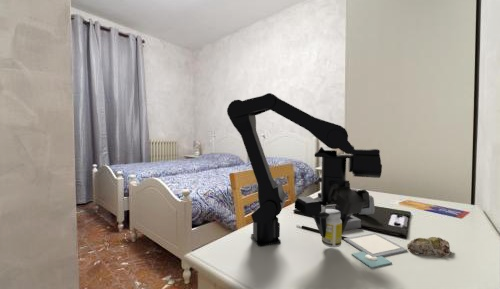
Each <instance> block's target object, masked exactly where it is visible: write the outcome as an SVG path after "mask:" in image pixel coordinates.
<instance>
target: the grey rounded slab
mask: <svg viewBox="0 0 500 289" xmlns="http://www.w3.org/2000/svg"><path fill="white" fill-rule="evenodd" d="M350 189H351V190H356V191H358V190H359V189H357V188H354V187H350ZM374 198H375V197H373V196H372V195H371V194H369V200H370V208H364V209H362V210H361V213H359V214H358V215H373V214H374V213H375V199H374Z"/></svg>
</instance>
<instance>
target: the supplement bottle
mask: <svg viewBox="0 0 500 289" xmlns="http://www.w3.org/2000/svg"><path fill="white" fill-rule="evenodd" d="M326 213H328V214H329V216H328V217H327V218H326V234H325V238H323V237H322V236H321V242H322V244H323V245H324V246H325V247H328V248H339V247H341V246H342V241H343V240H342V235H343V233H342V220H341V219H340V217H341V213H340V211H338V210H335V208H326Z"/></svg>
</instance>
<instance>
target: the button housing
mask: <svg viewBox="0 0 500 289" xmlns="http://www.w3.org/2000/svg"><path fill="white" fill-rule="evenodd" d="M356 229H362V219H360V218H358V217H356V216H354V215H353V214H352V215H351V216H350V218H349V220H348V222H347V224H346V226H345V229H344V231H348V230H356Z"/></svg>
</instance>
